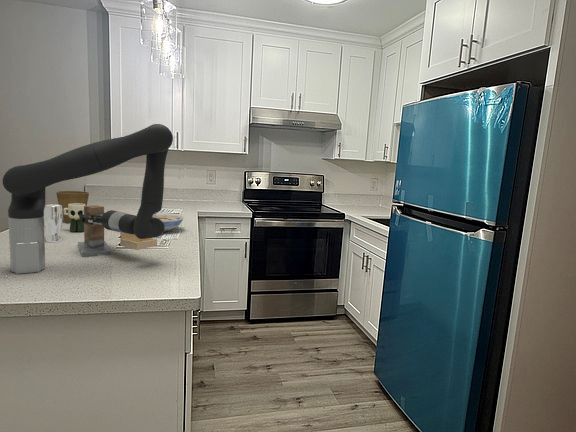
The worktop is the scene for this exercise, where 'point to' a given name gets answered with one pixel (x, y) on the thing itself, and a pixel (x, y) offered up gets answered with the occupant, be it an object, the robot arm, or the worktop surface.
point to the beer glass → (53, 222)
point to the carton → (136, 241)
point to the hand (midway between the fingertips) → (90, 215)
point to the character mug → (75, 216)
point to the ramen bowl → (169, 220)
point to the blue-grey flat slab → (93, 250)
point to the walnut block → (93, 228)
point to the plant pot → (71, 200)
